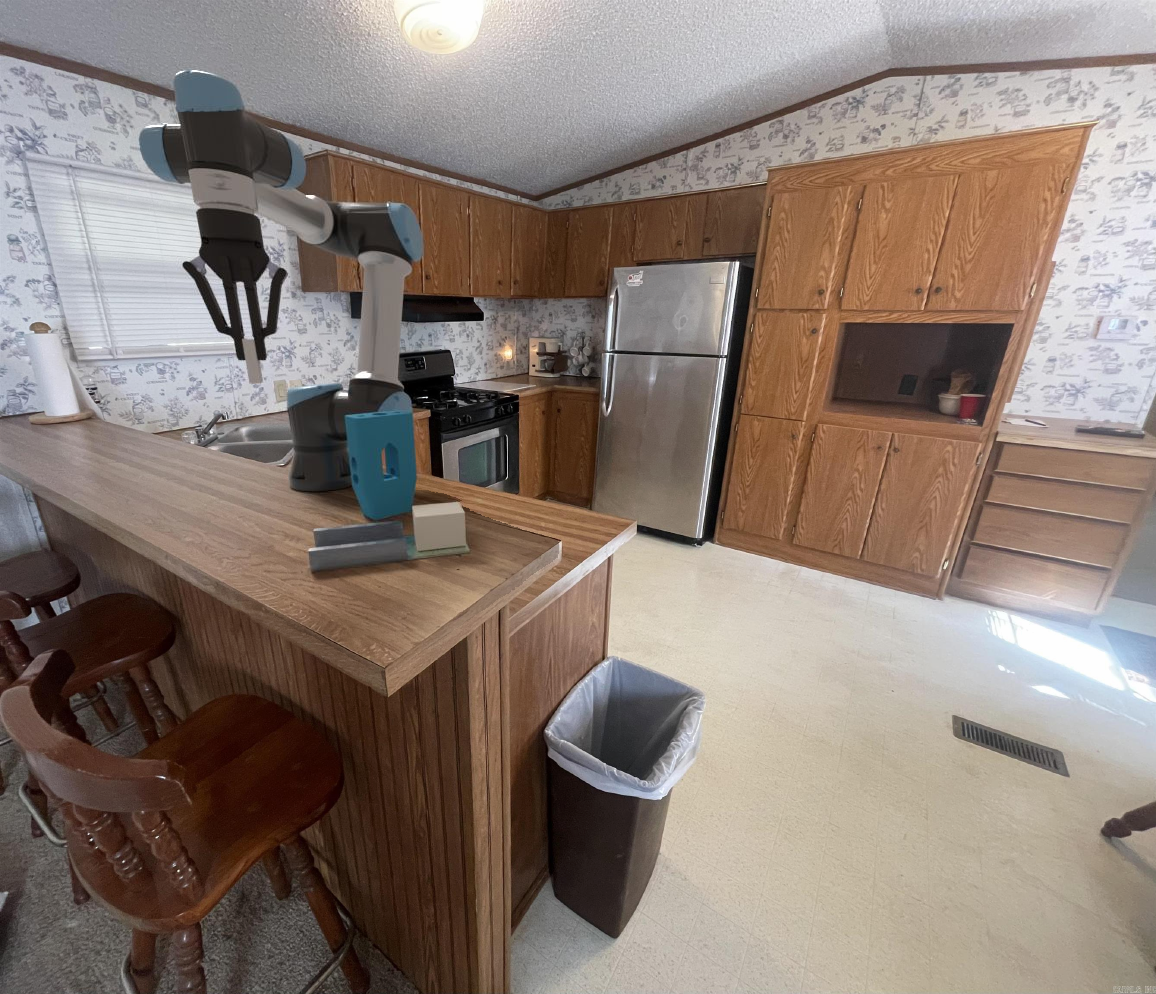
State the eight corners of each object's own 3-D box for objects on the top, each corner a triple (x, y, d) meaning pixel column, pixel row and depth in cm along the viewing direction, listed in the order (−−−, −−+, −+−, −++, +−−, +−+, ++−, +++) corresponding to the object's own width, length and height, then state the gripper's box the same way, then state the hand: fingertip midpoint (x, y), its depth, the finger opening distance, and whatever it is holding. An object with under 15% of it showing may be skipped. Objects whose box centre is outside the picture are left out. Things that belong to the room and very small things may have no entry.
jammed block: (414, 538, 89) (412, 505, 88) (460, 533, 92) (458, 501, 91) (417, 551, 84) (415, 517, 82) (466, 545, 87) (464, 512, 85)
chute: (316, 547, 86) (313, 528, 85) (460, 532, 94) (459, 514, 93) (311, 571, 77) (308, 551, 76) (469, 552, 86) (469, 533, 85)
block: (366, 522, 97) (356, 418, 91) (353, 516, 100) (342, 415, 94) (420, 508, 106) (414, 412, 100) (407, 503, 109) (400, 409, 103)
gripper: (162, 200, 65) (200, 385, 73) (278, 212, 71) (302, 384, 78) (178, 210, 72) (211, 380, 79) (283, 221, 77) (304, 379, 84)
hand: (256, 382), depth 79 cm, fingers closed
